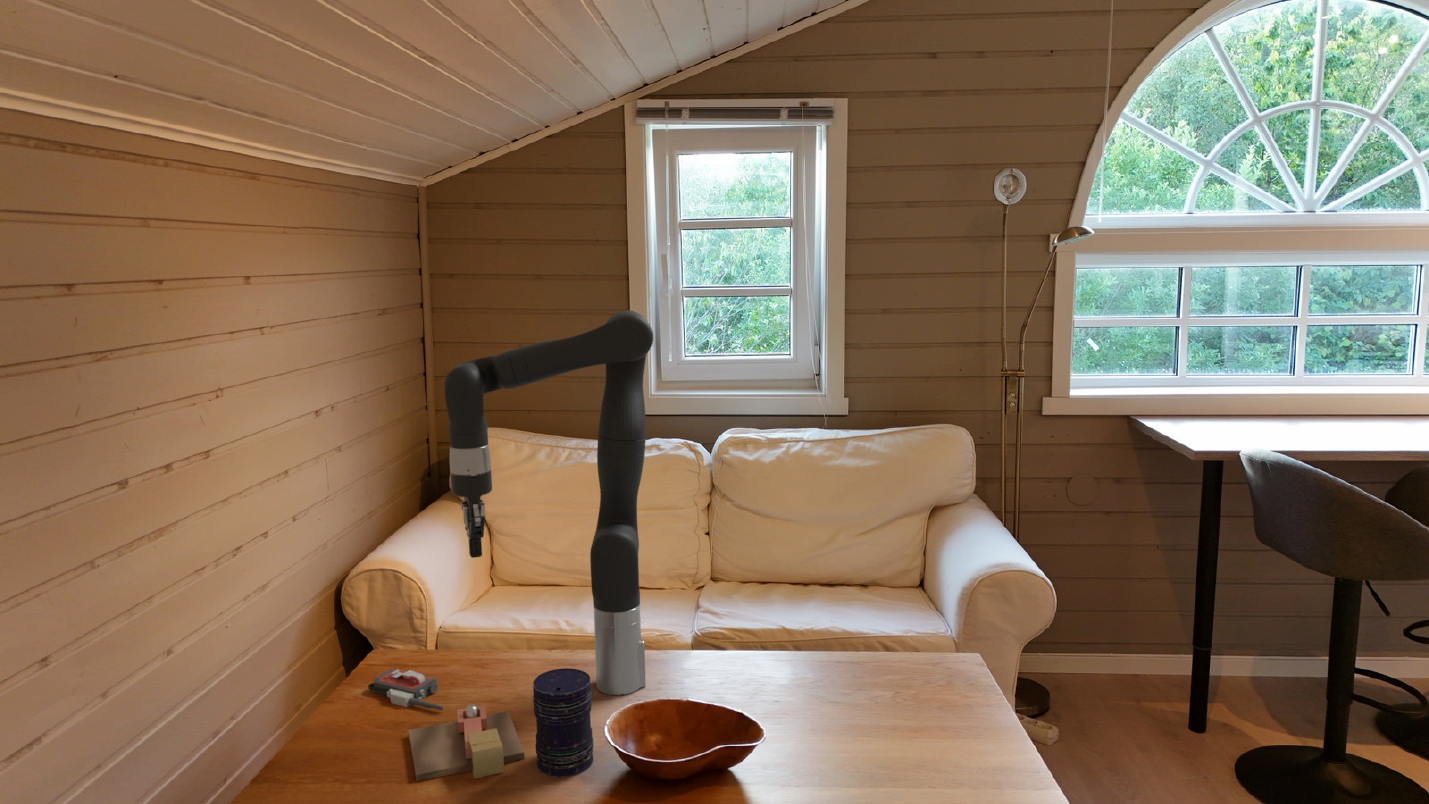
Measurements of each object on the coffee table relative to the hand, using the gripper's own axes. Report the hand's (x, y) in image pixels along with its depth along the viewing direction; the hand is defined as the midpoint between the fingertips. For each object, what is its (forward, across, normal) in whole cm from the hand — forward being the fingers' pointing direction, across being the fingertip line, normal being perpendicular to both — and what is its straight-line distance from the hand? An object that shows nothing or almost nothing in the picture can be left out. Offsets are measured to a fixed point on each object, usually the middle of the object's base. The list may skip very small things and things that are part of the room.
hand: (475, 556), depth 183 cm
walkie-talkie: (+30, -6, -13) cm, 33 cm away
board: (+29, +18, -6) cm, 35 cm away
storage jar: (+29, +30, +9) cm, 43 cm away
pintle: (+29, +13, -4) cm, 32 cm away
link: (+28, +18, -4) cm, 33 cm away
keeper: (+29, +26, -4) cm, 39 cm away
